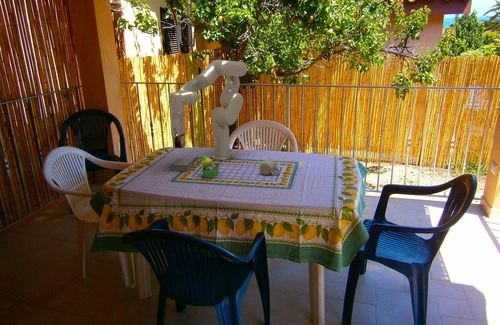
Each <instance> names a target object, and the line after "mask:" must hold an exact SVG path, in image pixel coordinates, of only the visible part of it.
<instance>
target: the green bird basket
mask: <svg viewBox="0 0 500 325" xmlns="http://www.w3.org/2000/svg"><path fill="white" fill-rule="evenodd" d="M200 160H201V165H202V166H203V167H202V168H201V173H202V175H203V178H204V179H214V178H215V177H216V175H218V173H219V169H220V166H221V165H220V164H221V163H214V162H213V163H212V161H213V159H211V158H209V157H208V156H206V155H202V157H201V159H200Z"/></svg>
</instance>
